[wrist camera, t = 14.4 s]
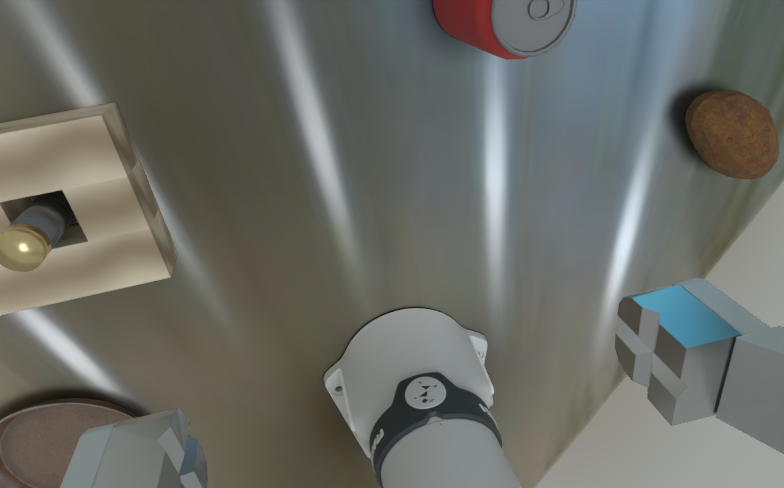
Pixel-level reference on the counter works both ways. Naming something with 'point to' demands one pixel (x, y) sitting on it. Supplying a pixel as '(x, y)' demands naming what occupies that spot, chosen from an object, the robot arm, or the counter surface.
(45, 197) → the grey and gold cylinder
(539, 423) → the counter surface
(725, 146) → the potato
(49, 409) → the plant saucer
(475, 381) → the robot arm
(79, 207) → the block
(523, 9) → the beer can
